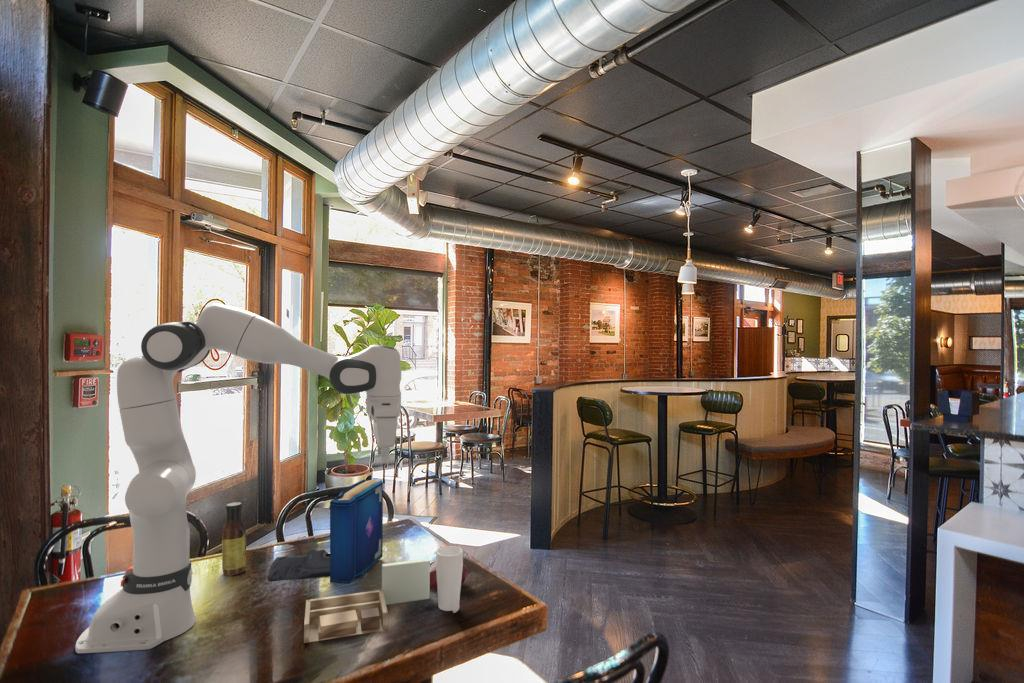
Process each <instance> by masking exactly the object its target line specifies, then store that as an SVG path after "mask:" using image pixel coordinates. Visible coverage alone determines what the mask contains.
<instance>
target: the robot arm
mask: <svg viewBox="0 0 1024 683" xmlns="http://www.w3.org/2000/svg"><path fill="white" fill-rule="evenodd" d="M140 346H141V347H140V349H141V353H142V354H141V356H135V357H132V358H130V359H128V360H125V361H124V362H122V363H121V364H120V366H118V369H117V375H116V395H117V403H118V409H119V415H120V419H121V425H122V430H123V435H124V440H125V443H126V445H127V447H129V449H130V451H131V453H132V455H133V457H134V459H135V462H136V464H137V467H138V473H137V474H135V475H134V477H133V478H132V479H131V481H130V482H129V485H128V486H127V489H126V492H125V495H124V502H125V506H126V508H127V510H128V514H129V516H128V517H129V521H130V526H131V531H132V537H133V538H132V539H133V540H132V541H133V545H132V547H133V550H132V554H133V555H132V565H131V566H129V567H128V568H127V569H126V570H125V573H124V575H123V576H122V579H121V580H120V587H122V589H120V590H118V591H117V592H116V593H115V594H113V595H112V596H111V597H110V598H108V599H107V600H105V601H104V602H103V603H102V604H101V605H100V606H99V607H98V609H97V610H95V613H94V614H93V615H92V619H91V620H90V621H91V622H90V625H89V626H88V627H87V628H85V630H84V631H83V632H82V633H81V634H80V635H79V637H78V638H77V640H76V642H75V647H74V650H75V653H77V654H92V653H95V654H96V653H109V652H110V653H112V652H113V653H114V652H127V651H141V650H142V651H143V650H144V651H145V650H151V649H153V648H155V647H156V646H158V645H160V644H161V643H163V642H165V641H167V640H170V639H173V638H175V637H177V636H179V635H182V634H183V633H185V632H187V631H188V630H189V629H191V628H192V627H193V626H194V625H195V624H196V621H197V618H196V615H195V611H194V607H193V604H192V597H191V585H192V580H193V579H192V578H193V576H192V575H193V569H192V561H191V560H190V550H191V549H190V548H191V547H190V544H191V542H190V541H191V540H190V539H191V533H190V532H191V529H190V526H189V523H188V522H189V521H188V517H187V516H188V514H187V506H186V505H187V504H186V503H187V502H186V501H187V496H188V494H189V492H190V491H191V490H192V489H193V487H194V485H195V483H196V480H197V479H196V476H197V473H196V467H195V465H194V463H193V459H192V457H191V452H190V450H189V447H188V444H187V441H186V439H185V436H184V432H183V429H182V428H183V427H182V424H181V419H180V412H179V408H178V403H177V397H176V393H175V387H174V386H175V384H174V380H175V376H176V374H177V373H181V372H184V371H185V370H188V369H190V368H193V367H196V366H197V365H199V364H201V363H202V362H204V361H205V359H207V357H208V355H209V354H210V353H211V350H220V351H222V352H226V353H228V354H231V355H234V356H236V357H238V358H241V359H245V360H248V361H250V362H256V363H261V364H266V365H267V364H268V365H270V364H271V365H272V364H273V365H277V364H278V365H279V364H280V365H291V366H294V367H297V368H301V369H304V370H305V371H309V372H312V373H314V374H316V375H320V376H322V377H324V378H326V379H327V380H329V382H330V385H331V387H332V388H333V389H334V390H335V391H336V392H338V393H339V394H342V395H347V396H349V395H350V396H351V395H355V394H358V393H363V392H365V393H366V405H365V406H366V410H365V411H366V414H369V415H370V417H371V418H370V419H371V420H372V421H373V422H372V423H373V427H372V428H373V430H372V432H373V436H374V439H375V441H376V446H377V455H378V456H379V457H380V461H381V464H388V463H389V461H390V457H389V456H390V453H391V448H394V447H395V444H396V439H397V438H396V437H397V429H398V417H400V416H401V415H400V414H401V412H402V411H401V410H402V391H401V387H400V386H401V381H402V359H401V355H400V352H399V351H398V349H396V348H395V347H393V346H389V345H384V344H377V343H374V344H371V345H369V346H368V347H367V348H364V349H363V350H362V351H358V352H357V353H353V354H352V355H335V354H332V353H329V352H326V351H324V350H321V349H318V348H316V347H315V346H311V345H309V344H307V343H304V342H303V341H301V340H300V339H298V338H296V337H295V336H294V335H293V334H291V333H290V332H288V331H287V330H286V329H284V328H283V327H281V326H280V325H278V324H277V323H275V322H273V321H271V320H269V319H267V318H265V317H263V316H261V315H259V314H256V313H254V312H251V311H248V310H246V309H243V308H239V307H235V306H231V305H227V304H221V303H212V304H211V305H209V306H207V307H205V308H204V309H203V310H202V312H201V313H200V315H199V316H198V318H197V319H196V321H194V322H193V321H190V320H185V321H172V322H165V323H161V324H157V325H155V326H154V327H152V328H150V329H148V331H146V333H145V335H143V338H142V340H141V345H140Z"/></svg>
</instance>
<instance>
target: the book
mask: <svg viewBox="0 0 1024 683" xmlns="http://www.w3.org/2000/svg"><path fill="white" fill-rule="evenodd" d="M383 488H384V481H383V480H382V479H381V480H375V479H370V480H369V479H368V480H366V479H365V478H364V479H363V480H360V481H358V482H355V483H353V484H352V485H350V486H349V487H347V488H346V489H343V490H342V491H341V492H340V493H339V495H338V496H335V497H333V499H331V500H330V501H329V516H330V517H329V553H330V577H329V583H335V584H350V583H352V582H354V581H355V580H357V579H360V578H361V577H362V576H363V575H364V574H366V573H367V572H368V571H369V570H370V569H372V567H373V566H375V565H376V564H377V563H378V562H379V561H380V560H381V559H382V558H383V553H384V552H383V550H384V549H383V545H384V544H383V543H384V541H383V540H384V539H383V538H384V537H383V534H384V532H383V528H384V527H383V526H384V525H383V524H384V518H383V517H384V516H383V513H384V510H383V509H384V508H383V507H384V504H383V503H384V500H383V498H384V496H383V495H384V489H383Z"/></svg>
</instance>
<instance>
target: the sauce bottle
mask: <svg viewBox="0 0 1024 683" xmlns="http://www.w3.org/2000/svg"><path fill="white" fill-rule="evenodd" d="M242 507H243V506H242V502H241V501H237V502H235V501H233V502H230V503H227V504H226V506H225V510H226V521H225V524H224V525H223V527H222V531H221V532H222V538H221V561H222V562H221V569H222V573H223V575H224V576H230V577H232V576H237V575H240V574H242V573H244V572H245V571H246V566H247V529H246V527H245V523H244V521H243V519H242Z"/></svg>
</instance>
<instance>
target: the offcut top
mask: <svg viewBox="0 0 1024 683" xmlns="http://www.w3.org/2000/svg"><path fill="white" fill-rule="evenodd" d="M319 623H320V631H321V633H326V632H331V631H336V630H342V629H347V628H352V627H357V626H358V618H357V614H356V610H351V611H345V612H339V613H334V614H328V615H322V616H320V619H319Z"/></svg>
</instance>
